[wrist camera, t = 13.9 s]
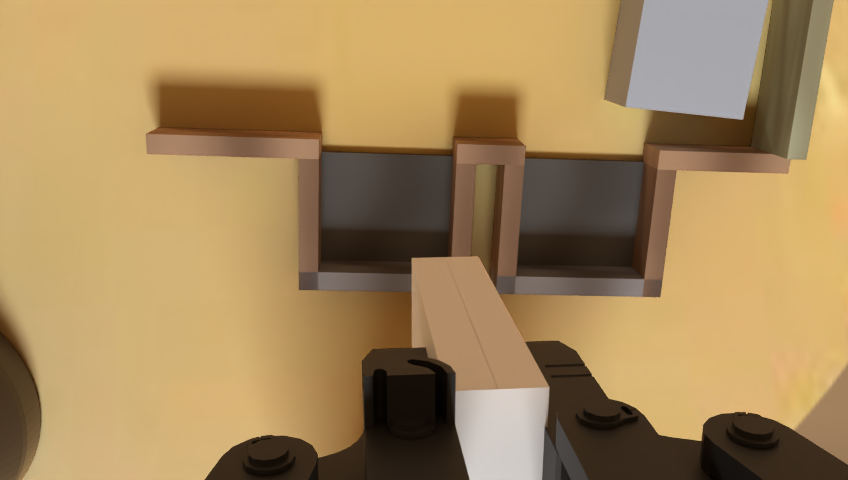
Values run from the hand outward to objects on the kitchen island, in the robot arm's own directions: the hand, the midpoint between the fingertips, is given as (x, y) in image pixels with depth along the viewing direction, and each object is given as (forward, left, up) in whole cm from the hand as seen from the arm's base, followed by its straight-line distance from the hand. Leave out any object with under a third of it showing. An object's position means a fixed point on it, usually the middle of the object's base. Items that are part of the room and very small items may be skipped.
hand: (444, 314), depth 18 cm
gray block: (+14, +5, -26) cm, 30 cm away
